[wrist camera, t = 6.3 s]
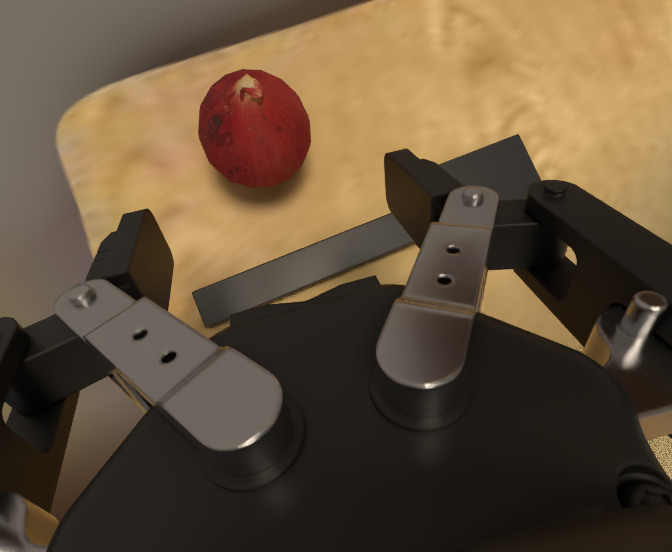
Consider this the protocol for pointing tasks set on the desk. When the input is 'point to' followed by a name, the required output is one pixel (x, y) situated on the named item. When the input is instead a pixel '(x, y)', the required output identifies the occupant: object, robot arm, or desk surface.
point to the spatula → (360, 238)
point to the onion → (254, 128)
